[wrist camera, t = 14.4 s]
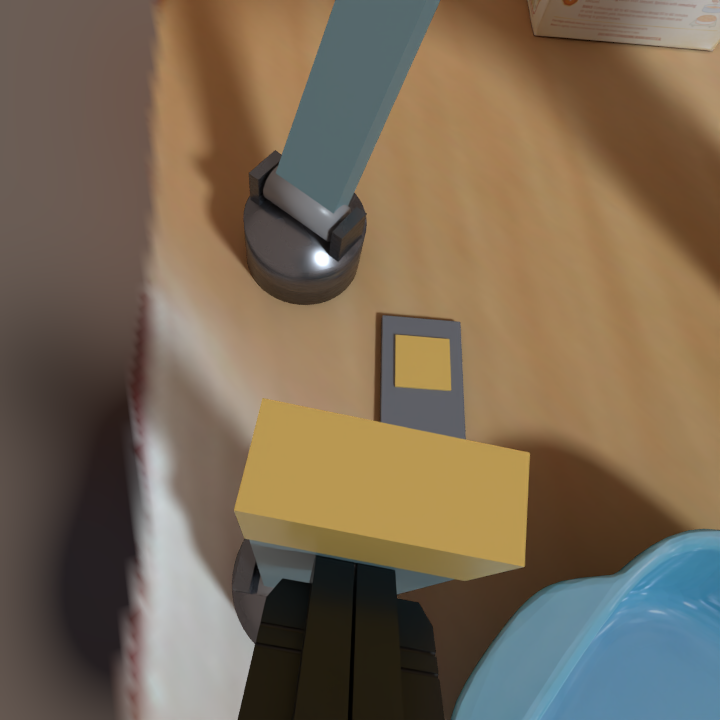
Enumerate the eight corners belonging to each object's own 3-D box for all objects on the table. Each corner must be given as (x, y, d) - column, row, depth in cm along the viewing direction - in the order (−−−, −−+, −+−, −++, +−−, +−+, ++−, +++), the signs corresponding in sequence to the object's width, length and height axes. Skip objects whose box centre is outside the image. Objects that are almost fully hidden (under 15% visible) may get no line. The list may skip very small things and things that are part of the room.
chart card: (381, 318, 33) (383, 314, 33) (458, 325, 34) (461, 320, 33) (378, 520, 29) (380, 518, 28) (466, 524, 29) (470, 522, 29)
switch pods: (248, 208, 35) (243, 139, 30) (356, 212, 36) (369, 146, 31) (233, 666, 25) (222, 678, 20) (382, 657, 26) (407, 666, 21)
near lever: (358, 614, 23) (535, 590, 7) (257, 595, 23) (216, 528, 7) (366, 562, 24) (541, 437, 8) (269, 543, 24) (256, 379, 8)
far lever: (321, 246, 29) (519, -208, 18) (258, 202, 30) (415, -263, 19) (340, 235, 31) (534, -189, 20) (281, 193, 31) (438, -241, 21)
